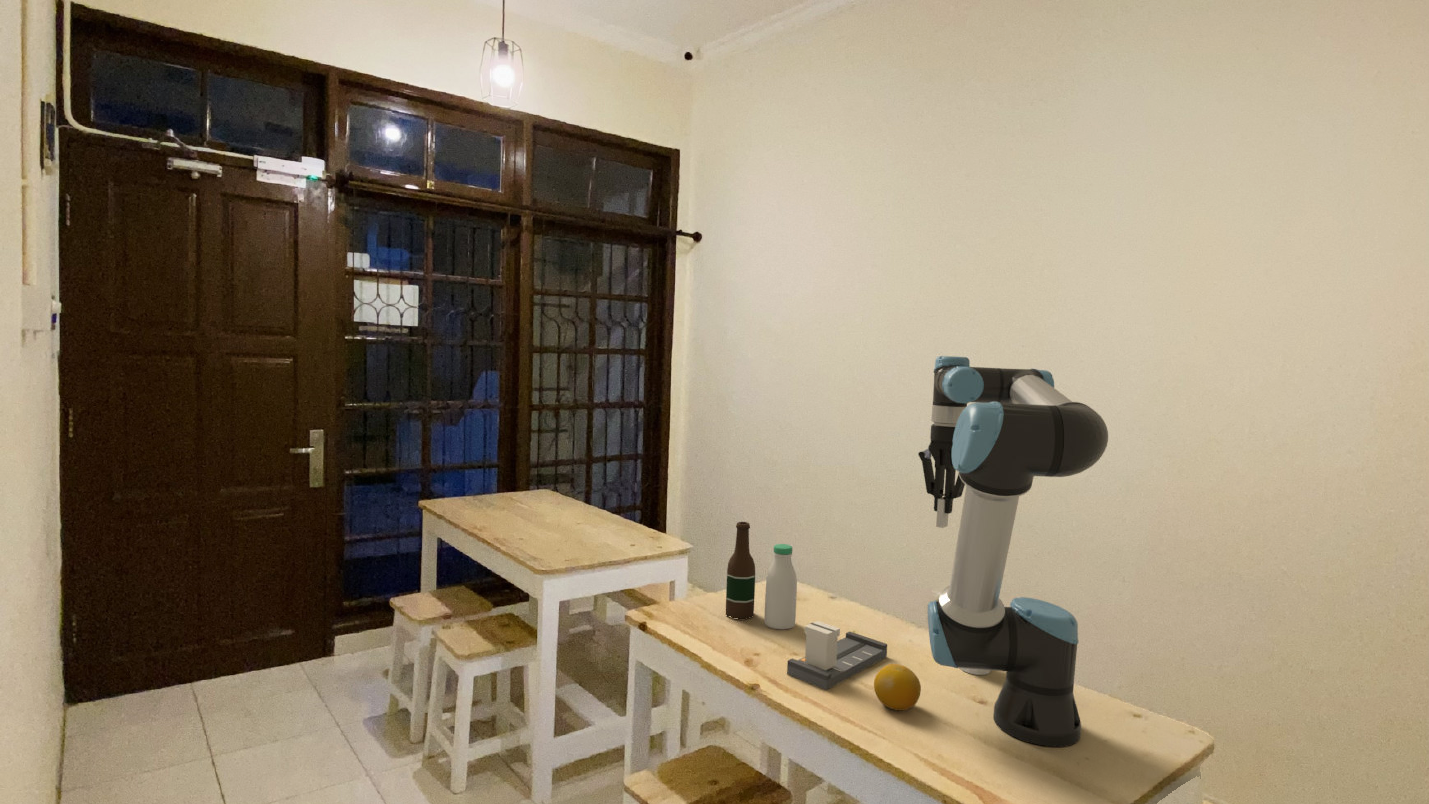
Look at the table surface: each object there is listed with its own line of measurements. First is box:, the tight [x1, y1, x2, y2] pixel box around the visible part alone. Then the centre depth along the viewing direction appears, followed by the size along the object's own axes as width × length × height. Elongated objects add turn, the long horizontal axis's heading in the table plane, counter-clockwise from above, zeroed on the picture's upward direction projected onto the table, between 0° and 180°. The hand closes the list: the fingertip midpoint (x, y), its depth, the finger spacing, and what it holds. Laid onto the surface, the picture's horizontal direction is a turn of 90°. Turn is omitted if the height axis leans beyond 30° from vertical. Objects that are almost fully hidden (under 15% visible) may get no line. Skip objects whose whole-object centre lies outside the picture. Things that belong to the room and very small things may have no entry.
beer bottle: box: [725, 521, 756, 620], centre depth 194 cm, size 8×8×24 cm
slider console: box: [786, 630, 888, 691], centre depth 167 cm, size 24×10×3 cm, turn 137°
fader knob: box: [803, 620, 841, 671], centre depth 161 cm, size 5×6×8 cm
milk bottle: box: [763, 543, 798, 630], centre depth 189 cm, size 8×8×20 cm
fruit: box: [873, 663, 922, 711], centre depth 149 cm, size 9×8×8 cm
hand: (941, 526), depth 175 cm, fingers closed
